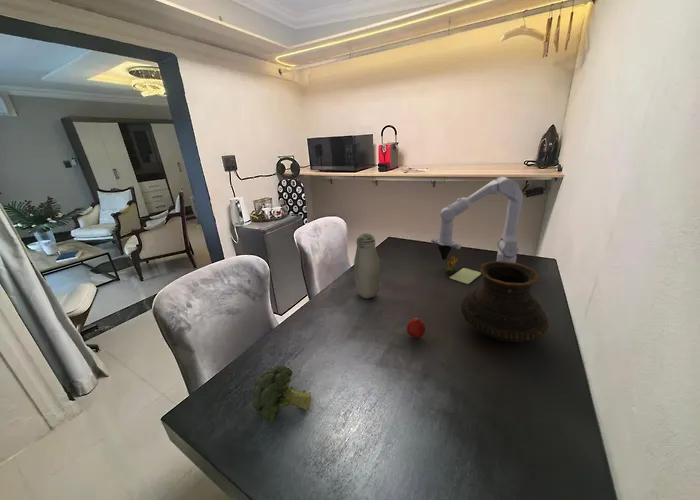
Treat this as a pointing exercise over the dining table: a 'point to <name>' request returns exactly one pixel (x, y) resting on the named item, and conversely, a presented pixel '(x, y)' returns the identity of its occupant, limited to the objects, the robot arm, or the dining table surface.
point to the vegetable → (277, 393)
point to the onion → (416, 328)
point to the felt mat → (465, 275)
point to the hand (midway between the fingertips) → (444, 259)
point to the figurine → (451, 264)
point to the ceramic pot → (506, 304)
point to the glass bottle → (366, 267)
